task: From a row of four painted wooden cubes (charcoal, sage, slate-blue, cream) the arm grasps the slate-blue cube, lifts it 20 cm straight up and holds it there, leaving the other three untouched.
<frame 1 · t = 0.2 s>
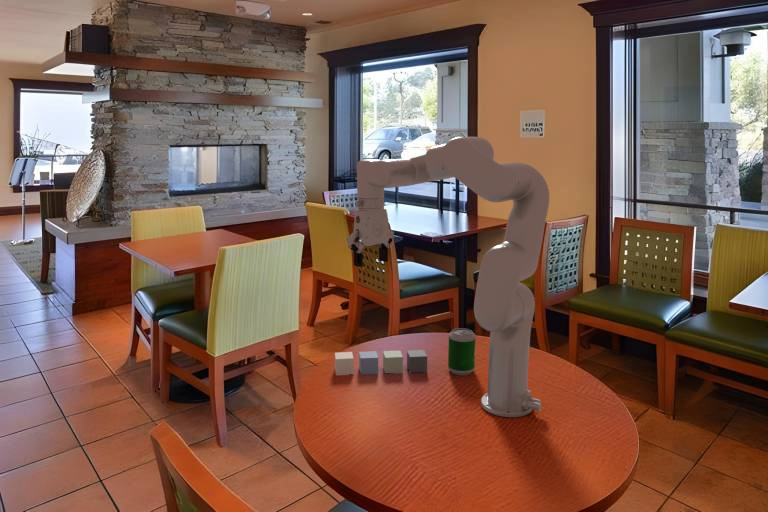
hand: (371, 263, 162), 30 cm above the table, fingers open, 9 cm apart
slate block: (368, 371, 163), on the table
charcoal block: (416, 369, 164), on the table
sage block: (392, 370, 164), on the table
soda can: (461, 371, 163), on the table
cream block: (344, 371, 163), on the table
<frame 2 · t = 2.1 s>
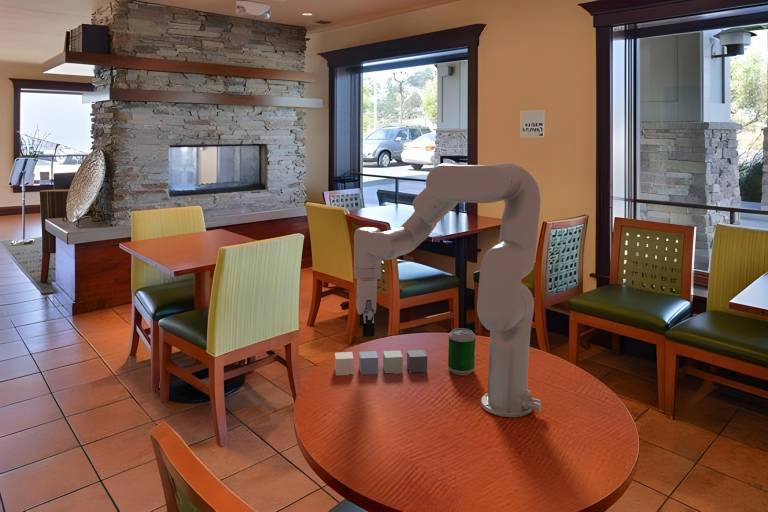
hand: (366, 330, 161), 12 cm above the table, fingers open, 9 cm apart
nothing on the table moved.
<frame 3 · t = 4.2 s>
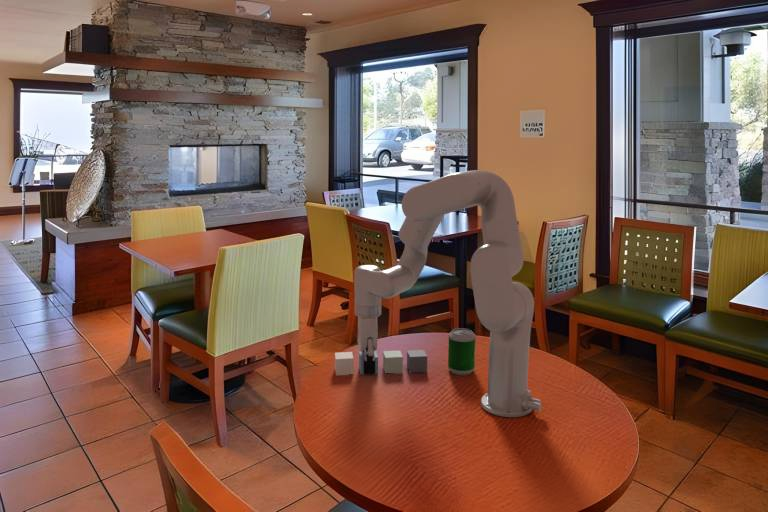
hand: (368, 369, 163), 0 cm above the table, fingers closed on slate block, 4 cm apart
slate block: (368, 370, 163), on the table, touching gripper
everything else where it was.
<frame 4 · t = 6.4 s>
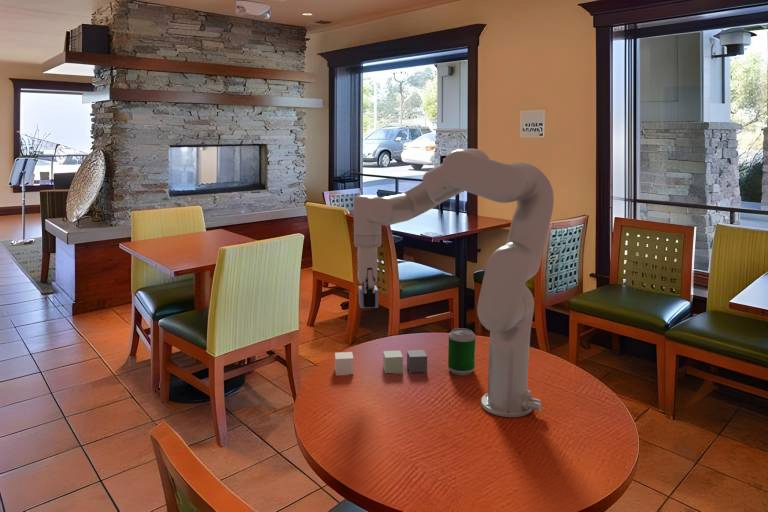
hand: (368, 303, 159), 20 cm above the table, fingers closed on slate block, 4 cm apart
slate block: (368, 305, 159), point 20 cm above the table, touching gripper
everything else where it was.
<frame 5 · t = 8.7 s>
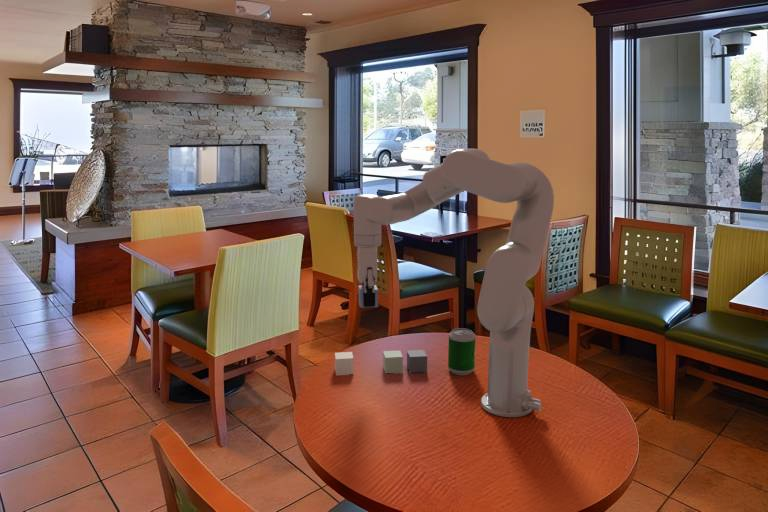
hand: (368, 302, 159), 20 cm above the table, fingers closed on slate block, 4 cm apart
slate block: (368, 304, 159), point 20 cm above the table, touching gripper
everything else where it was.
at the end: the gripper is holding slate block; slate block point 19.8 cm above the table; sage block moved 0.1 cm from its start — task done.
